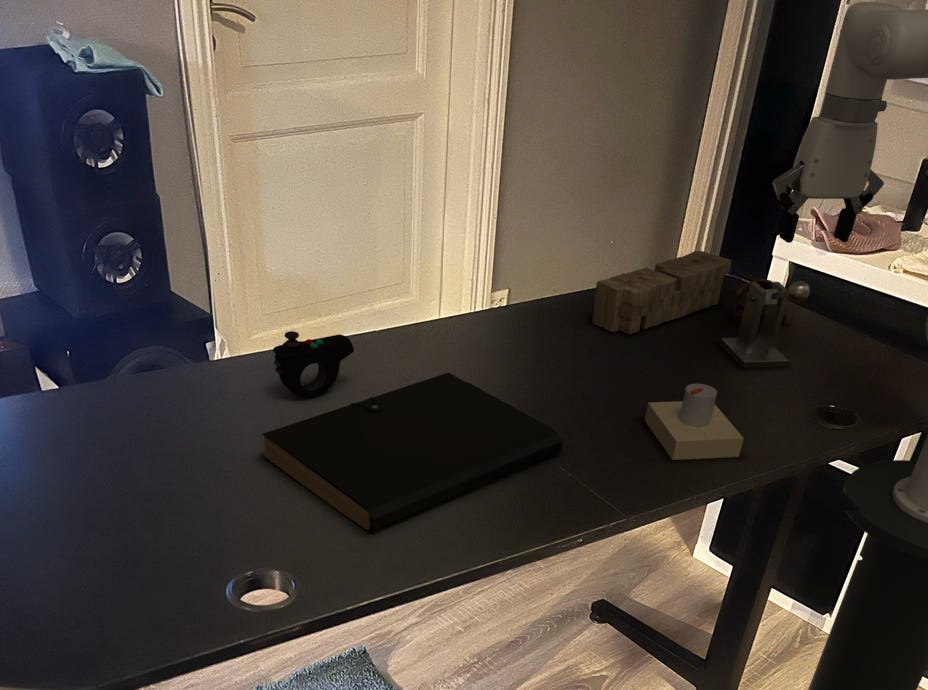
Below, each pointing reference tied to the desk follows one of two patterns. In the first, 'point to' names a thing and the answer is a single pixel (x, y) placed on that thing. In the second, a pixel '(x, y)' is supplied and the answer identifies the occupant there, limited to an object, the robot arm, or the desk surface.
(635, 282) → the block tower
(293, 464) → the black hardcover book
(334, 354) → the controller
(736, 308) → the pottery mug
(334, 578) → the desk surface
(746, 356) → the bracket
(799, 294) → the tap lever
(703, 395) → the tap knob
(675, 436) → the beige rectangular block
